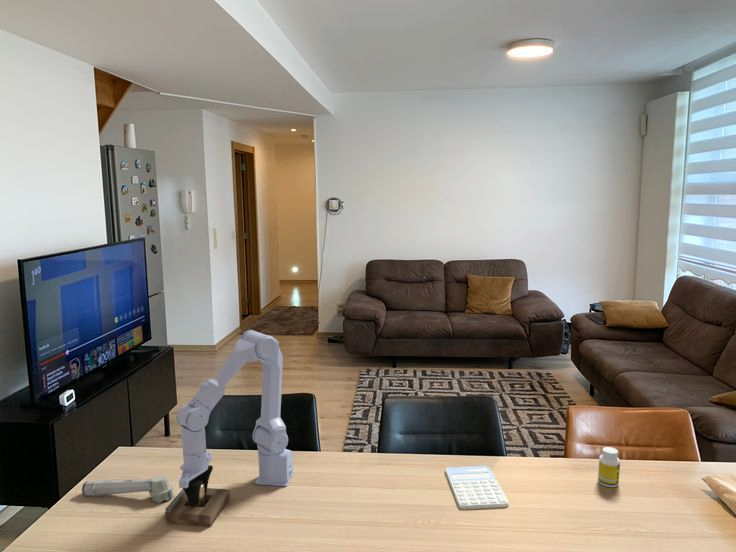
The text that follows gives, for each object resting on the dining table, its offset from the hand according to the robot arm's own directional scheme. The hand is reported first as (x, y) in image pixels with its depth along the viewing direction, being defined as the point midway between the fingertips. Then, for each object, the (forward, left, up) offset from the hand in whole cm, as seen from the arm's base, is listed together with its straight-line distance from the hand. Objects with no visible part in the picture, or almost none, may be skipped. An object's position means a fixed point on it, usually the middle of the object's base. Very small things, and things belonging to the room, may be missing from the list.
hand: (198, 499), depth 143 cm
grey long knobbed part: (+22, -4, -4) cm, 23 cm away
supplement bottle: (-109, -27, -4) cm, 112 cm away
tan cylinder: (0, 0, -2) cm, 2 cm away
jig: (0, 0, -3) cm, 3 cm away
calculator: (-72, -20, -4) cm, 75 cm away
